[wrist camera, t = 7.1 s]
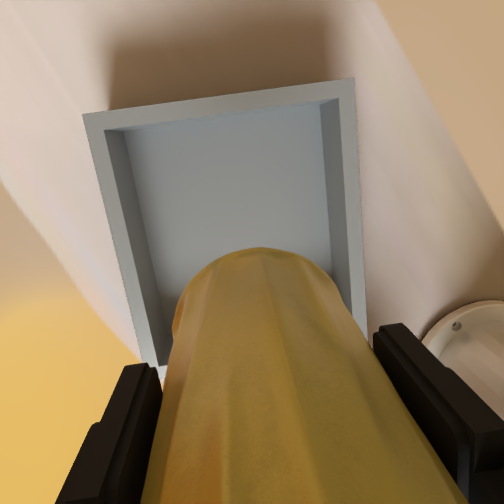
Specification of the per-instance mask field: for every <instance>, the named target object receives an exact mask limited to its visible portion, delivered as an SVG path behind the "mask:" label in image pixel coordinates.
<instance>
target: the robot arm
mask: <svg viewBox="0 0 504 504" xmlns="http://www.w3.org/2000/svg"><path fill="white" fill-rule="evenodd" d="M373 351H374V353H375V355H376V357H377V358H378V360H379V362H380V363H381V365H382V367H383V368H384V370H385V372H386V374H387V375H388V377H389V379H390V381H391V382H392V384H393V386H394V388H395V390H396V391H397V393H398V395H399V397H400V398H401V400H402V401H403V403H404V405H405V406H406V408H407V409H408V411H409V412H410V414H411V416H412V417H413V419H414V420H415V422H416V423H417V424H418V426H419V427H420V429H421V430H422V432H423V433H424V435H425V436H426V438H427V439H428V441H429V442H430V444H431V446H432V447H433V449H434V450H435V452H436V453H437V455H438V457H439V458H440V460H441V461H442V463H443V465H444V466H445V468H446V469H447V471H448V472H449V474H450V475H451V477H452V478H453V480H454V482H455V483H456V485H457V486H458V488H459V489H460V491H461V492H462V494H463V495H464V497H465V498H466V500H467V501H468V503H469V504H504V301H501V300H486V301H480V302H474V303H471V304H468V305H465V306H462V307H460V308H458V309H457V310H455V311H453V312H451V313H449V314H448V315H446V316H445V317H444V318H442V319H441V320H440V321H438V322H437V323H436V324H435V325H434V326H433V327H432V329H431V330H430V331H429V332H428V333H427V335H426V336H425V337H424V339H423V340H422V342H421V341H420V340H419V339H418V338H417V337H416V336H415V335H414V334H413V333H412V332H411V331H410V330H409V329H408V328H407V327H406V326H405V325H404V324H402V323H397V324H390V325H384V326H380V327H379V332H374V334H373ZM162 396H163V393H162V388H161V384H160V380H159V375H158V371H157V369H156V367H150V366H149V364H148V363H147V362H146V363H140V364H133V365H127V366H125V367H124V369H123V371H122V373H121V376H120V378H119V380H118V382H117V384H116V387H115V389H114V391H113V394H112V396H111V398H110V400H109V403H108V405H107V407H106V409H105V412H104V414H103V417H102V419H101V421H100V422H96V423H94V424H93V425H92V426H91V427H90V429H89V431H88V433H87V436H86V437H85V440H84V442H83V444H82V446H81V448H80V451H79V453H78V455H77V457H76V459H75V461H74V463H73V466H72V468H71V470H70V472H69V474H68V476H67V478H66V480H65V483H64V485H63V487H62V489H61V491H60V493H59V496H58V498H57V500H56V502H55V504H140V502H141V497H142V492H143V488H144V483H145V479H146V474H147V469H148V464H149V459H150V454H151V449H152V444H153V439H154V435H155V430H156V425H157V421H158V417H159V412H160V408H161V402H162Z"/></svg>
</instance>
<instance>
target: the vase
mask: <svg viewBox="0 0 504 504" xmlns="http://www.w3.org/2000/svg"><path fill="white" fill-rule="evenodd" d="M172 333H173V340H174V342H173V346H172V350H171V353H170V357H169V361H168V366H167V370H166V375H165V380H164V386H163V392H162V393H163V396H162V402H161V408H160V412H159V417H158V421H157V425H156V430H155V435H154V439H153V444H152V449H151V454H150V459H149V464H148V469H147V474H146V479H145V483H144V488H143V492H142V497H141V502H140V504H469V503H468V501H467V500H466V498H465V497H464V495H463V494H462V492H461V491H460V489H459V488H458V486H457V485H456V483H455V482H454V480H453V478H452V477H451V475H450V474H449V472H448V471H447V469H446V468H445V466H444V465H443V463H442V461H441V460H440V458H439V457H438V455H437V453H436V452H435V450H434V449H433V447H432V446H431V444H430V442H429V441H428V439H427V438H426V436H425V435H424V433H423V432H422V430H421V429H420V427H419V426H418V424H417V423H416V422H415V420H414V419H413V417H412V416H411V414H410V412H409V411H408V409H407V408H406V406H405V405H404V403H403V401H402V400H401V398H400V397H399V395H398V393H397V391H396V390H395V388H394V386H393V384H392V382H391V381H390V379H389V377H388V375H387V374H386V372H385V370H384V368H383V367H382V365H381V363H380V362H379V360H378V358H377V357H376V355H375V353H374V351H373V350H372V348H371V346H370V344H369V343H368V341H367V339H366V337H365V336H364V334H363V332H362V331H361V329H360V327H359V326H358V324H357V323H356V321H355V320H354V318H353V317H352V315H351V314H350V312H349V311H348V309H347V308H346V306H345V304H344V303H343V300H342V298H341V295H340V293H339V291H338V288H337V286H336V284H335V283H334V282H333V281H332V279H331V278H330V277H329V276H328V275H327V274H326V273H325V272H324V271H323V270H322V269H321V268H320V267H319V266H317V265H316V264H315V263H313V262H312V261H311V260H309V259H307V258H305V257H303V256H301V255H299V254H295V253H292V252H288V251H284V250H280V249H274V248H267V247H255V248H248V249H243V250H239V251H235V252H231V253H229V254H226V255H224V256H222V257H220V258H218V259H216V260H214V261H213V262H211V263H210V264H208V265H207V266H206V267H204V268H203V269H202V270H201V271H200V272H199V273H197V274H196V275H195V276H194V277H193V278H192V279H191V280H190V282H189V283H188V284H187V286H186V287H185V289H184V291H183V292H182V295H181V297H180V299H179V301H178V304H177V307H176V311H175V316H174V319H173V325H172Z"/></svg>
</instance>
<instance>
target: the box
mask: <svg viewBox="0 0 504 504" xmlns="http://www.w3.org/2000/svg"><path fill="white" fill-rule="evenodd" d="M82 117H83V121H84V125H85V129H86V133H87V137H88V141H89V145H90V149H91V153H92V157H93V161H94V166H95V170H96V174H97V178H98V182H99V186H100V190H101V194H102V198H103V202H104V206H105V210H106V214H107V219H108V223H109V227H110V231H111V235H112V239H113V243H114V247H115V251H116V255H117V259H118V263H119V267H120V271H121V276H122V280H123V284H124V288H125V292H126V296H127V300H128V304H129V308H130V312H131V316H132V320H133V324H134V329H135V333H136V337H137V341H138V345H139V349H140V353H141V357H142V361H143V363H146V362H147V363H148V364H149V366H150V367H156V369H157V371H158V375H159V379H164V378H165V375H166V370H167V366H168V361H169V357H170V353H171V350H172V346H173V342H174V340H173V333H172V325H173V319H174V316H175V311H176V307H177V304H178V301H179V299H180V297H181V295H182V292H183V291H184V289H185V287H186V286H187V284H188V283H189V282H190V280H191V279H192V278H193V277H194V276H195V275H196V274H197V273H199V272H200V271H201V270H202V269H203V268H204V267H206V266H207V265H208V264H210V263H211V262H213V261H214V260H216V259H218V258H220V257H222V256H224V255H226V254H229V253H231V252H235V251H239V250H243V249H248V248H255V247H267V248H274V249H280V250H284V251H288V252H292V253H295V254H299V255H301V256H303V257H305V258H307V259H309V260H311V261H312V262H313V263H315V264H316V265H317V266H319V267H320V268H321V269H322V270H323V271H324V272H325V273H326V274H327V275H328V276H329V277H330V278H331V279H332V281H333V282H334V283H335V284H336V286H337V288H338V291H339V293H340V295H341V298H342V300H343V303H344V304H345V306H346V308H347V309H348V311H349V312H350V314H351V315H352V317H353V318H354V320H355V321H356V323H357V324H358V326H359V327H360V329H361V331H362V332H363V334H364V336H365V337H366V339H367V341H368V334H367V315H366V295H365V276H364V256H363V237H362V217H361V198H360V179H359V159H358V140H357V120H356V101H355V81H354V78H347V79H339V80H332V81H324V82H317V83H309V84H302V85H294V86H287V87H280V88H272V89H265V90H257V91H250V92H242V93H235V94H228V95H220V96H213V97H205V98H198V99H190V100H183V101H176V102H168V103H161V104H153V105H146V106H138V107H131V108H124V109H116V110H109V111H101V112H94V113H86V114H82Z"/></svg>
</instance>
